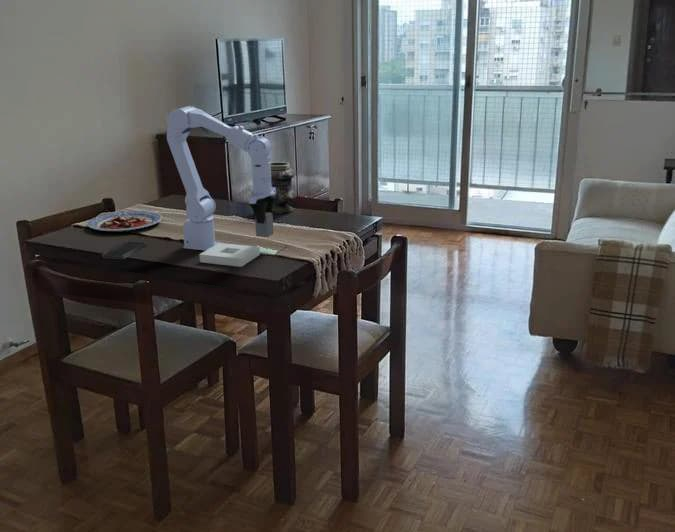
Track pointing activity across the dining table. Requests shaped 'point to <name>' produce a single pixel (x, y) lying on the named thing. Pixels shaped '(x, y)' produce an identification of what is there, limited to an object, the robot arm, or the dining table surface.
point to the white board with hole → (230, 254)
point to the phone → (123, 250)
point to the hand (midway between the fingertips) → (264, 221)
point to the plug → (265, 226)
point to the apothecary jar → (282, 186)
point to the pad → (267, 251)
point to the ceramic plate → (123, 221)
